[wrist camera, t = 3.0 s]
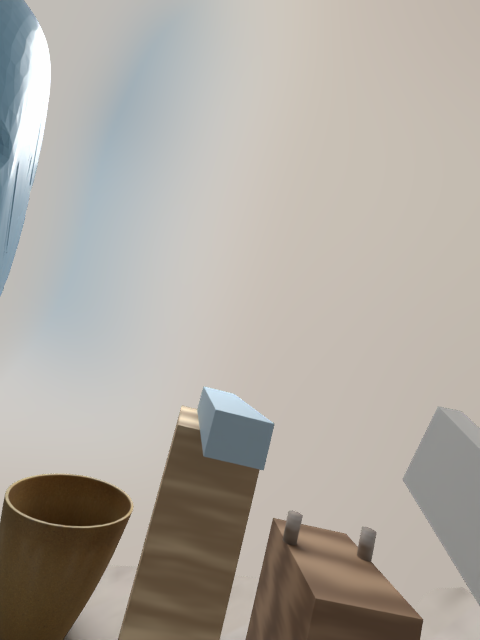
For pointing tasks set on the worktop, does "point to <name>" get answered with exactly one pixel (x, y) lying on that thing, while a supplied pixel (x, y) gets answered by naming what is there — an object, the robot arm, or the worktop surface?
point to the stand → (190, 543)
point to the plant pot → (55, 550)
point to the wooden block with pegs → (326, 589)
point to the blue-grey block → (233, 429)
